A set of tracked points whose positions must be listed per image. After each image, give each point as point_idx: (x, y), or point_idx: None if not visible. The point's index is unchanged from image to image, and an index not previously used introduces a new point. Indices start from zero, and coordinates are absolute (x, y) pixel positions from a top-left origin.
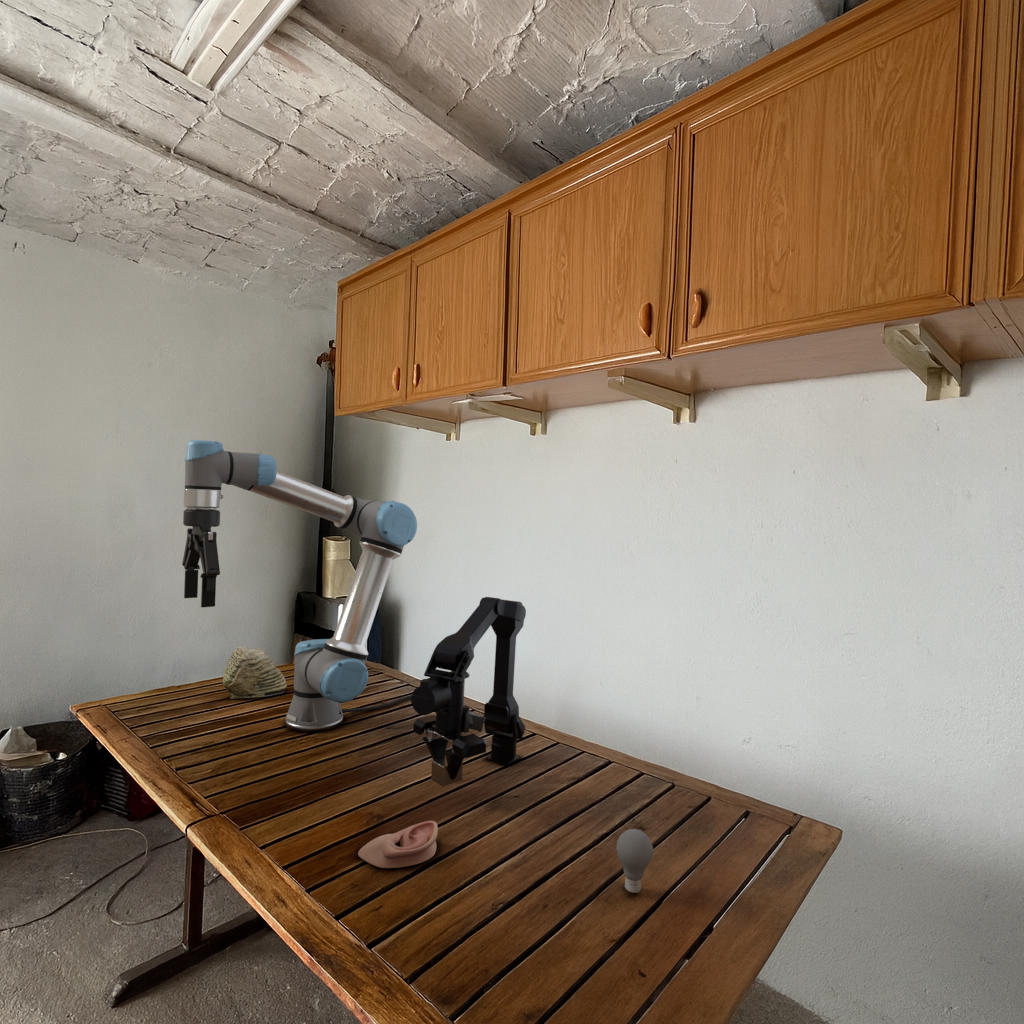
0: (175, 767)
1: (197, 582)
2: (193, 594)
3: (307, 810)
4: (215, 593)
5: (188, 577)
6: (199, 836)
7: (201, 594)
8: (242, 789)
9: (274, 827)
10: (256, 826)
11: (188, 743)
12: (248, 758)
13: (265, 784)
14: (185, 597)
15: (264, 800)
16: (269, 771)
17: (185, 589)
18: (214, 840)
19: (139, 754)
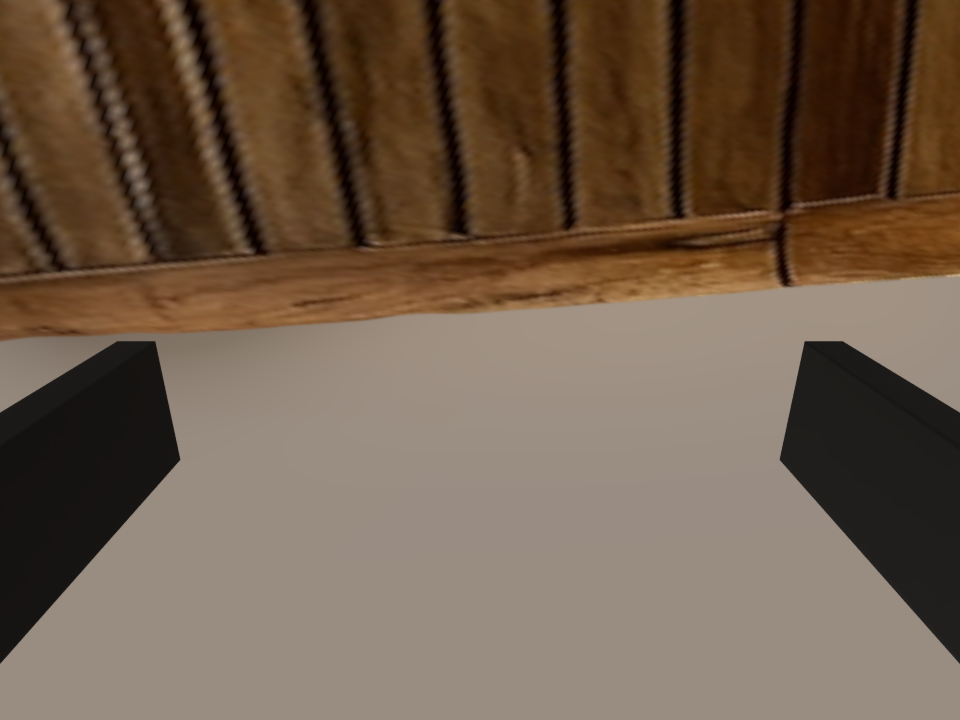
0: (444, 231)
1: (27, 432)
2: (143, 398)
3: (944, 12)
4: (948, 406)
5: (7, 609)
6: (849, 279)
7: (861, 543)
8: (698, 120)
9: (949, 126)
10: (909, 161)
11: (274, 153)
12: (499, 25)
13: (714, 51)
14: (173, 459)
15: (802, 92)
16: (637, 3)
17: (127, 517)
18: (890, 259)
19: (298, 289)
